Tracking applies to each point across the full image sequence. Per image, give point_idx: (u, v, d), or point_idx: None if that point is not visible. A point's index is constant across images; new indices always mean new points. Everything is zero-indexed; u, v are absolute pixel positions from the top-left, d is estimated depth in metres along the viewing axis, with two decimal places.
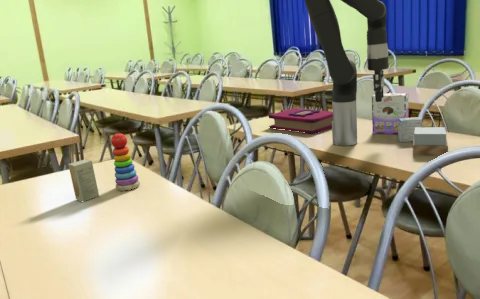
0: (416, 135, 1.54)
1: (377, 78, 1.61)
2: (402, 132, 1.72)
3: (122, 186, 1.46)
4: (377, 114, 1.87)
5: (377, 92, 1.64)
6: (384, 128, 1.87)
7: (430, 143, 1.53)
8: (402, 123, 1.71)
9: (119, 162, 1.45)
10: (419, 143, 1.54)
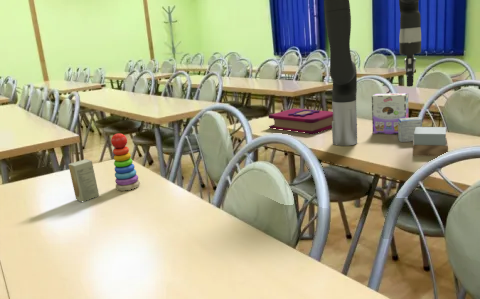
0: (416, 135, 1.54)
1: (410, 62, 1.60)
2: (402, 132, 1.72)
3: (122, 186, 1.46)
4: (377, 114, 1.87)
5: (409, 76, 1.63)
6: (384, 128, 1.87)
7: (430, 143, 1.53)
8: (402, 123, 1.71)
9: (119, 162, 1.45)
10: (419, 143, 1.55)
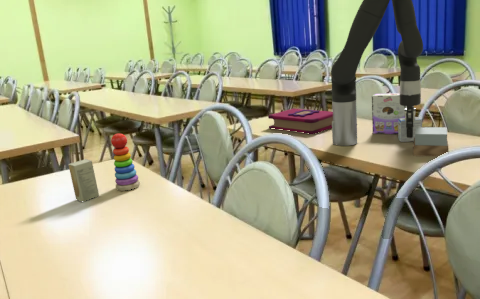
0: (417, 135, 1.54)
1: (410, 117, 1.66)
2: (402, 132, 1.72)
3: (122, 186, 1.46)
4: (377, 114, 1.87)
5: (409, 128, 1.70)
6: (384, 128, 1.87)
7: (431, 143, 1.52)
8: (402, 123, 1.71)
9: (119, 162, 1.45)
10: (420, 143, 1.54)
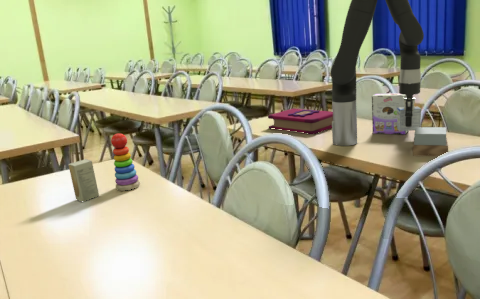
0: (416, 135, 1.54)
1: (409, 105, 1.65)
2: (401, 121, 1.71)
3: (122, 186, 1.46)
4: (377, 114, 1.87)
5: (408, 117, 1.69)
6: (384, 128, 1.87)
7: (430, 143, 1.53)
8: (401, 112, 1.70)
9: (119, 162, 1.45)
10: (419, 143, 1.54)
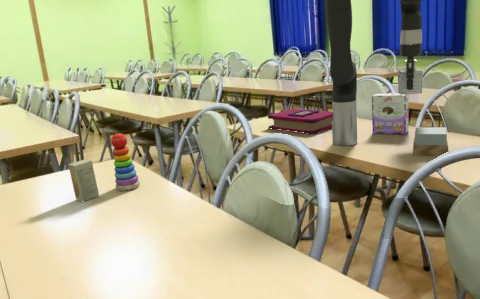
0: (417, 135, 1.54)
1: (410, 67, 1.61)
2: (402, 84, 1.67)
3: (122, 186, 1.46)
4: (377, 114, 1.87)
5: (409, 80, 1.65)
6: (384, 128, 1.87)
7: (431, 143, 1.53)
8: (402, 74, 1.66)
9: (119, 162, 1.45)
10: (420, 143, 1.54)
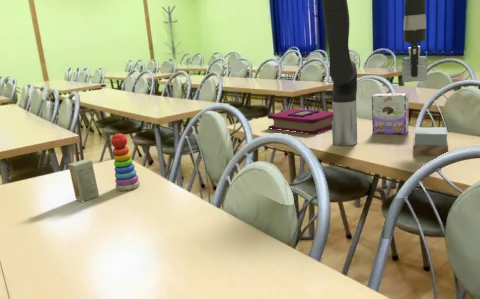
0: (417, 135, 1.54)
1: (415, 53, 1.56)
2: (406, 71, 1.62)
3: (122, 186, 1.46)
4: (377, 114, 1.87)
5: (413, 67, 1.60)
6: (384, 128, 1.87)
7: (431, 143, 1.53)
8: (406, 61, 1.62)
9: (119, 162, 1.45)
10: (420, 143, 1.54)
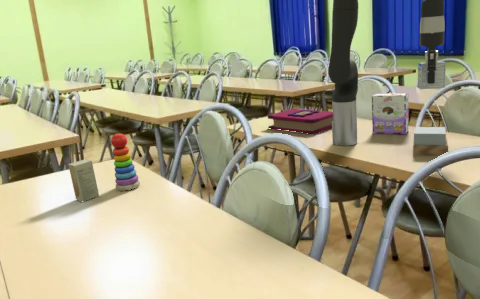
0: (416, 135, 1.54)
1: (432, 58, 1.44)
2: (423, 77, 1.50)
3: (122, 186, 1.46)
4: (377, 114, 1.87)
5: (430, 73, 1.48)
6: (384, 128, 1.87)
7: (430, 143, 1.53)
8: (423, 67, 1.49)
9: (119, 162, 1.45)
10: (419, 143, 1.54)
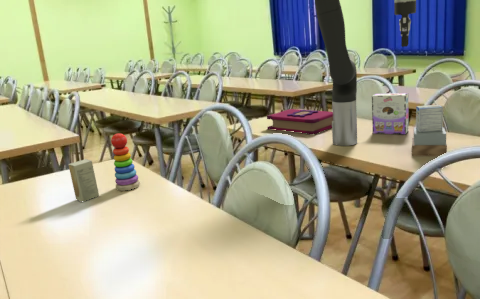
0: (416, 135, 1.54)
1: (405, 21, 1.60)
2: (420, 121, 1.54)
3: (122, 186, 1.46)
4: (377, 114, 1.87)
5: (404, 36, 1.63)
6: (384, 128, 1.87)
7: (430, 143, 1.53)
8: (421, 111, 1.53)
9: (119, 162, 1.45)
10: (419, 143, 1.54)
